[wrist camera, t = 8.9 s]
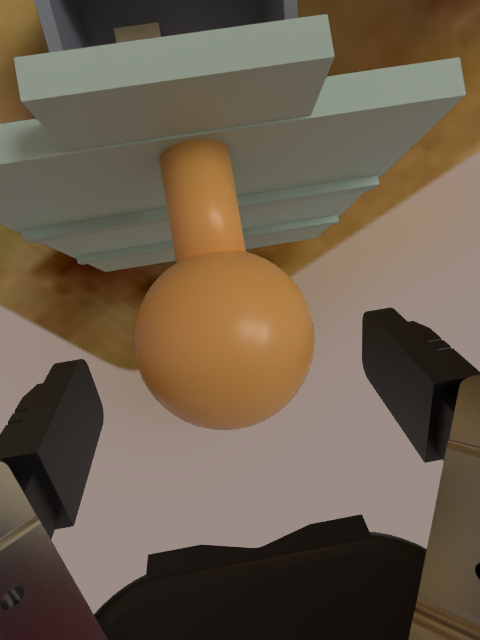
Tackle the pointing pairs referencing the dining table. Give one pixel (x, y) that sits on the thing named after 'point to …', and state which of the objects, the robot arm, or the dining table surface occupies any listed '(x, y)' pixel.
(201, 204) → the lid
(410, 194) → the dining table surface
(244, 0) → the parts tub
